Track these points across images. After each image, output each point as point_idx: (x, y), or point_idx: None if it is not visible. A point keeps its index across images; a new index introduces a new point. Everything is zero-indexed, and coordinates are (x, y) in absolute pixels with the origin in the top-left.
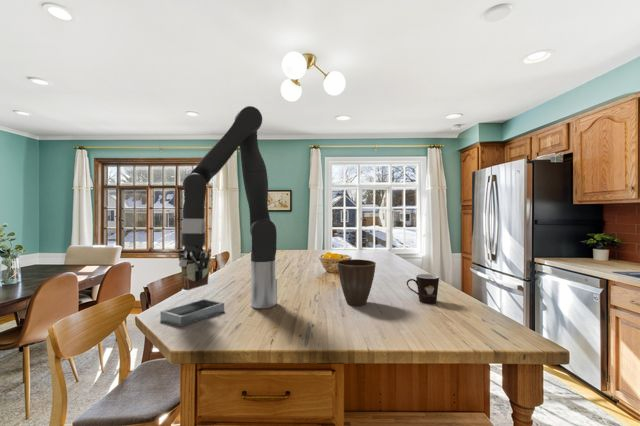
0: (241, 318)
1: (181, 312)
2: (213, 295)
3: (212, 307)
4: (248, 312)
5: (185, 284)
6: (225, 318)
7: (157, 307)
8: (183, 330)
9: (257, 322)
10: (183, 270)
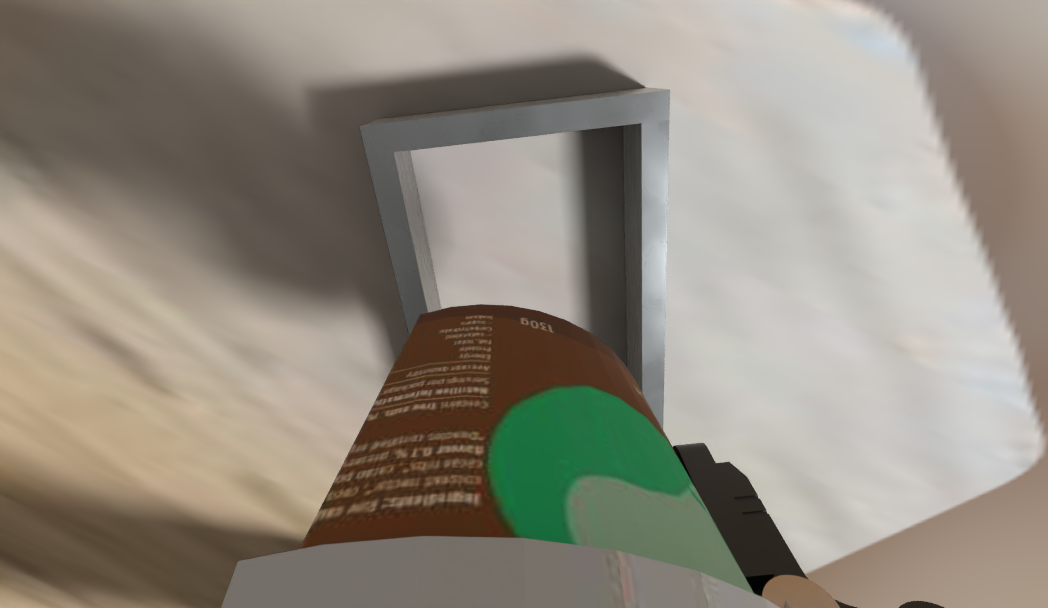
0: (244, 434)
1: (630, 256)
2: (793, 550)
3: None
4: (317, 504)
5: (451, 335)
6: (316, 383)
7: (956, 225)
8: (291, 92)
9: (111, 448)
10: (454, 477)
